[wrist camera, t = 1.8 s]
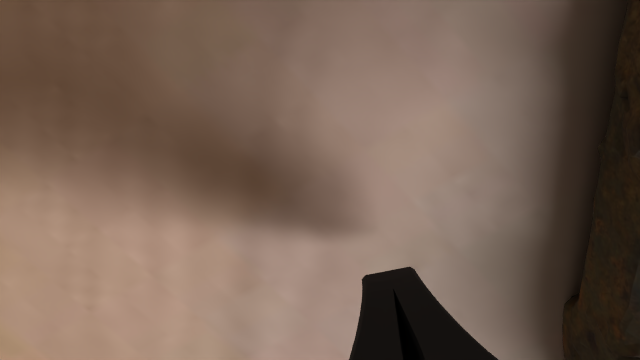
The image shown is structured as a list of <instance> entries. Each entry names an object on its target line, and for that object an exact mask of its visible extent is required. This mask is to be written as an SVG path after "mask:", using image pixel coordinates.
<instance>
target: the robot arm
mask: <svg viewBox="0 0 640 360" xmlns="http://www.w3.org/2000/svg"><path fill="white" fill-rule="evenodd" d="M349 360H498V359H497V358H496V357H494V356H493V355H492V354H491V353H490V352H488V351H487V350H486V349H485V348H484V347H483V346H482V345H480V344H479V343H478V342H477V341H476V340H475V339H474V338H473V337H472V336H471V335H470V334H469V333H468V332H466V331H465V330H464V329H463V328H462V327H461V326H460V325H459V324H458V323H457V322H456V321H455V320H454V318H453V317H452V316H451V315H450V314H449V313H448V312H447V311H446V310H445V309H444V308H443V306H442V305H441V304H440V303H439V302H438V301H437V300H436V298H435V297H434V296H433V295H432V293H431V292H430V291H429V290H428V288H427V287H426V286H425V284H424V283H423V282H422V280H421V279H420V277H419V276H418V274H417V273H416V271H415V269H413V268H411V267H406V268H401V269H396V270H390V271H385V272H380V273H375V274H369V275H365V276H364V278H363V279H362V303H361V311H360V317H359V322H358V327H357V332H356V336H355V340H354V344H353V347H352V351H351V355H350V358H349Z"/></svg>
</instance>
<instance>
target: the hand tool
mask: <svg viewBox="0 0 640 360" xmlns="http://www.w3.org/2000/svg"><path fill="white" fill-rule="evenodd" d="M614 74H615V81H616V87H615V94H614V99H613V104H612V108H611V112H610V118H609V123H608V129H607V134H606V137H605V138H604V139H603V141H602V142H601V144H600V145H599V147H598V151H599V154H600V158H601V164H600V171H599V178H598V185H597V189H596V192H595V196H594V214H593V220H592V226H591V233H590V239H589V244H588V249H587V254H586V259H585V264H584V270H583V276H582V282H581V289H580V294H577V295H575V296H573V297H572V298H571V299H570V300H569V301H568V302H567V303H566V304H565V305H564V312H563V348H564V357H565V360H640V0H628V4H627V11H626V16H625V20H624V24H623V29H622V33H621V36H620V40H619V46H618V54H617V63H616V67H615V72H614Z"/></svg>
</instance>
